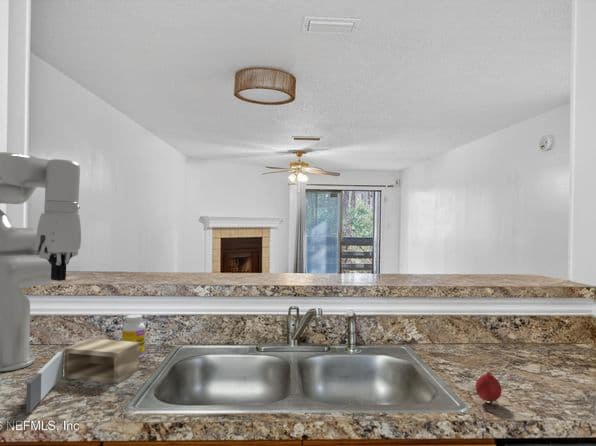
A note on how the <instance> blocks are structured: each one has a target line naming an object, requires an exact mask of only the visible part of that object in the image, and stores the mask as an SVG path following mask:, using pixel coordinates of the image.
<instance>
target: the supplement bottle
mask: <svg viewBox="0 0 596 446" xmlns="http://www.w3.org/2000/svg"><path fill="white" fill-rule="evenodd" d="M125 321H126V323H125V324H123V326H122V330H121V332H122V333H121V341H130V342H140V347H139V359H142V358H143V357H144V356H145V346H146V345H145V342H146V341H145V340H146V325H145V324H144V323H143V322H142V321H143V315H142V314H137V313H136V314H128V315H126V317H125Z"/></svg>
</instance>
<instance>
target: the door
mask: <svg viewBox="0 0 596 446" xmlns="http://www.w3.org/2000/svg"><path fill="white" fill-rule="evenodd" d="M64 357H65V350H58V351H57V352H56V353H55V355H54V356H52V358H51V359H50V360H48V362H46V363H45V365H43V366H42V368H40V369H39V370H38V371H37V372H36V373H35V375H34V376H33V377H32V378H31V379H29V380H28V382H27V383H26V401H25V402H26V404H25V405H26V408H25V413H26V414H30V413H32V411H33V410H34V409H35V408H36V406H37V405H38V404H39V403H40V402H41V401H42V400H43V399H44V398H45V396H46V395H47V394H48V393H49V392H50V391H51V389H52V388H53V387H54V386H55V385H56V383H57V382H58V381H59V380H60V378H61V377H62V376H64Z"/></svg>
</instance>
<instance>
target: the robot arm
mask: <svg viewBox="0 0 596 446" xmlns="http://www.w3.org/2000/svg"><path fill="white" fill-rule="evenodd" d="M80 177H81V166H80V164H79V163H78V162H76V161H73V160H68V159H57V158H56V159H55V158H53V159H46V158H39V157H36V156H33V155H28V154H23V153H21V154H20V153H14V152H12V153H11V152H6V151H5V152H4V151H0V204H6V205H8V204H9V205H22V204H24V203H27V201H28V200H29V199H30V198H31V196H32V195H33V193H34V192H35V191H36V189H37V188H43V189H44V191H45V193H44V208H43V209H44V211H43V213H42V212H41V213H40V216H39V220H38V224H37V228H33V227H15V226H13V225H12V223H11V221H10V218H9V216H8V215H7V214H6V213H5V212H4V211H3V210H1V209H0V373H1V372H10V371H15V370H20V369H23V368H26V367H28V366H31V365H33V364H34V363H35V362H36V356H35V355H33V354H30V332H31V331H30V328H31V326H30V325H31V301H30V299H29V297H28V296H27V295H26V294H25V293H24V292H23V291H22V289H23V288H31V287H39V286H48V285H51V284H52V283H54V281H58V282H62V281H66V280H67V278H66V277H67V266H68V265H69V263H70V260H71V259H72V258H73V257H75V256H78V254H79V250H80V249H81V243H82V242H81V241H82V227H81V218H80V215H79V210H80V208H81V206H80V205H79V200H80V181H81V180H80Z"/></svg>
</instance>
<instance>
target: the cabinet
mask: <svg viewBox="0 0 596 446" xmlns="http://www.w3.org/2000/svg"><path fill="white" fill-rule="evenodd" d="M139 347H140V342H130V341H122V340H117V339H105V338H95V337H94V338H91V337H89V338H87V339H83V340H82V341H79V342H76V343H74V344H72V345H69V346H67V347H64V363H63V378H64V379H70V380H71V379H72V380H82V381H90V382H98V383H99V382H100V383H111V384H119V383H122V382H123V381H125V380H126V379H127V378H129V377H131V376H132V375H134V374H135V373H137V372H138V371H140V358H139Z"/></svg>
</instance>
